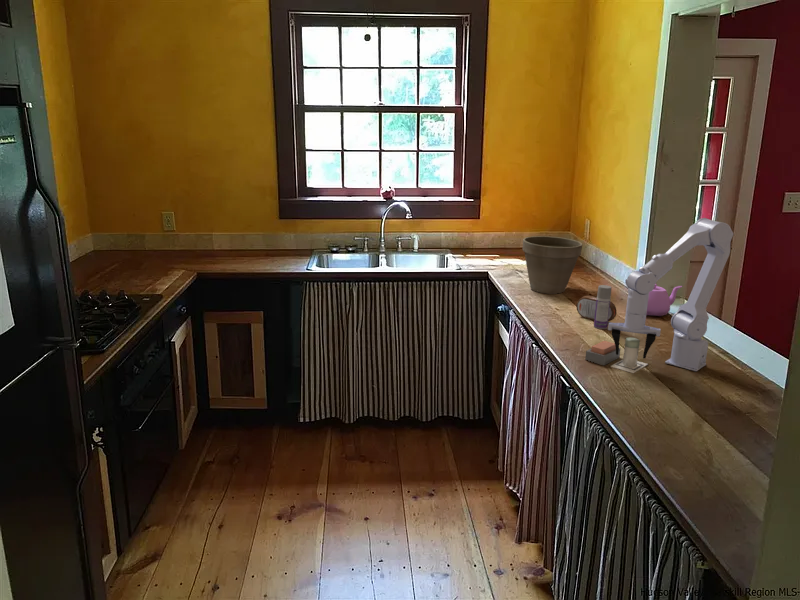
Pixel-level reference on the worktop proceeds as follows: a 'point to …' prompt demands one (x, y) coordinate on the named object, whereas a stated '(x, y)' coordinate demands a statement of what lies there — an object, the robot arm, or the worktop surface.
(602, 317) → the container
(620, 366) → the paper sheet
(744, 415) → the worktop surface
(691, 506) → the worktop surface
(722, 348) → the worktop surface
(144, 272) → the worktop surface
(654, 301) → the teapot
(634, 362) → the marker
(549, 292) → the plant pot
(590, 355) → the button housing
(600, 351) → the button
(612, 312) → the tin
